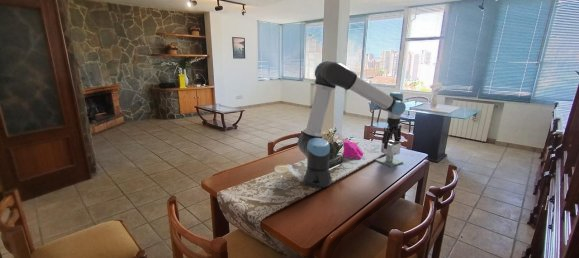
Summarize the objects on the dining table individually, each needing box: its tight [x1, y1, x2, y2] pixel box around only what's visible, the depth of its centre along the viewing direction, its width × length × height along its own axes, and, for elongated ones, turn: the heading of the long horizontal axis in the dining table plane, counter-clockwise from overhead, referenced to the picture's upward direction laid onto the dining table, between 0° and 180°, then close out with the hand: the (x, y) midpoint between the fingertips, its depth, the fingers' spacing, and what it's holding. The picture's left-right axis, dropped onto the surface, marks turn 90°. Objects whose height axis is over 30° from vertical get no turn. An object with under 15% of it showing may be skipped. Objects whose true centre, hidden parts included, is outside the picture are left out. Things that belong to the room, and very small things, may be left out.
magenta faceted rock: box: [342, 139, 365, 160], centre depth 184 cm, size 12×10×10 cm
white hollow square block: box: [380, 139, 402, 157], centre depth 171 cm, size 8×8×7 cm
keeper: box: [374, 154, 404, 168], centre depth 172 cm, size 12×12×9 cm
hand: (390, 151), depth 172 cm, fingers closed on white hollow square block, 8 cm apart
